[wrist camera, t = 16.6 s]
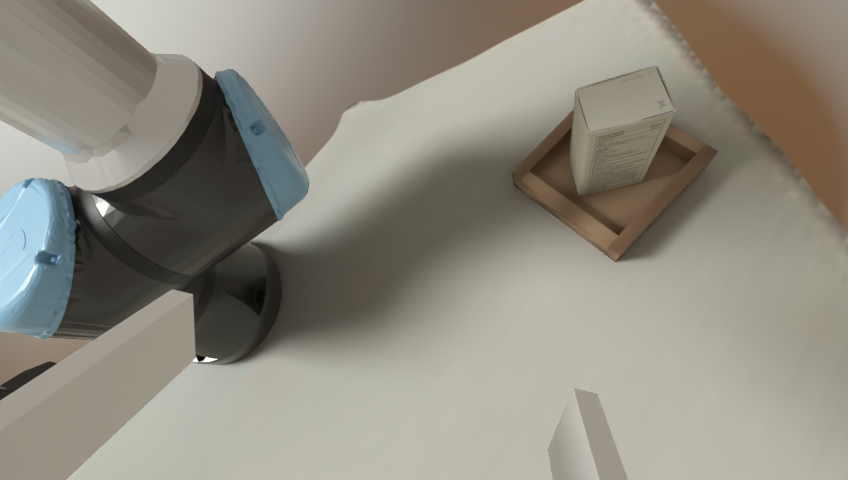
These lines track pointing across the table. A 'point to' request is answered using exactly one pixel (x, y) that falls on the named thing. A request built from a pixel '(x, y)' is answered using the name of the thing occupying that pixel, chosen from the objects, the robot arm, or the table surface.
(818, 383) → the table surface
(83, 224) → the robot arm
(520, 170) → the tray
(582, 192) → the skincare box
